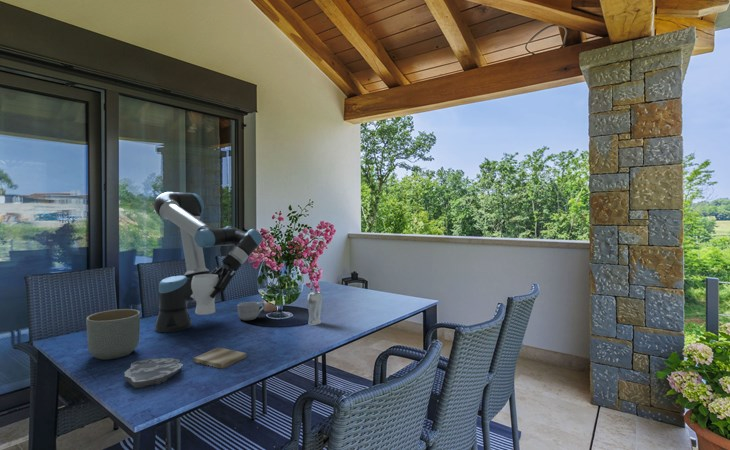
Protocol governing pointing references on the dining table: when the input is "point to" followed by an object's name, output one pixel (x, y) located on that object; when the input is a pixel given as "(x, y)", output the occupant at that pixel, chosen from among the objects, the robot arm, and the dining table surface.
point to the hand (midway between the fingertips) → (198, 301)
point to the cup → (204, 292)
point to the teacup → (249, 310)
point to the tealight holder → (269, 307)
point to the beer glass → (314, 307)
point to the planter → (113, 333)
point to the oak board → (220, 357)
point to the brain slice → (152, 371)
